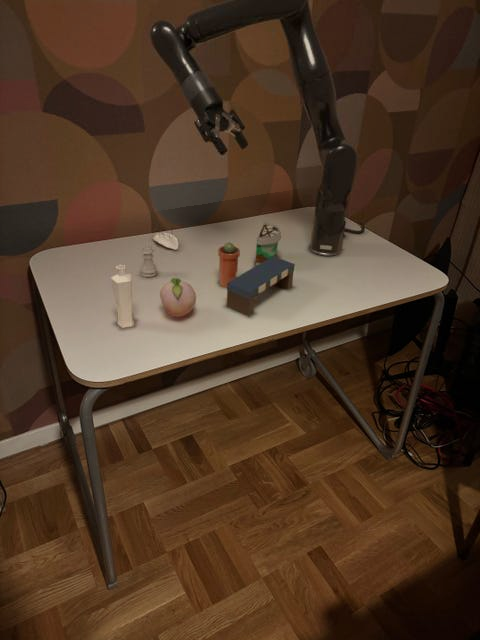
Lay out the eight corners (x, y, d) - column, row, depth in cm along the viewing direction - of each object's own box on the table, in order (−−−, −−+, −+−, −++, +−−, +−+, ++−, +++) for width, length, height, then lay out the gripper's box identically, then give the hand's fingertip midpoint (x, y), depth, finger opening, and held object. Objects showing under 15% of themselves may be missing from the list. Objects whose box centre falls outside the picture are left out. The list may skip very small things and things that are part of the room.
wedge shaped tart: (275, 272, 144) (278, 240, 138) (254, 269, 145) (256, 237, 139) (281, 254, 154) (284, 223, 148) (261, 251, 155) (263, 221, 149)
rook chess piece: (160, 272, 141) (158, 246, 136) (151, 279, 137) (149, 252, 133) (146, 269, 142) (145, 243, 138) (137, 275, 139) (135, 249, 134)
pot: (228, 276, 141) (230, 236, 134) (242, 284, 137) (244, 244, 131) (213, 282, 137) (213, 242, 131) (226, 290, 134) (228, 249, 127)
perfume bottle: (117, 318, 121) (111, 262, 113) (135, 317, 121) (131, 262, 113) (114, 328, 117) (108, 271, 109) (134, 328, 117) (129, 271, 109)
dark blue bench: (271, 278, 141) (273, 256, 137) (292, 287, 137) (295, 264, 133) (226, 306, 127) (226, 282, 123) (248, 317, 124) (250, 292, 120)
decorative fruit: (200, 322, 121) (200, 286, 115) (167, 328, 118) (165, 291, 113) (190, 303, 128) (189, 268, 122) (158, 307, 125) (156, 272, 120)
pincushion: (185, 249, 154) (184, 231, 151) (167, 253, 151) (167, 236, 148) (164, 235, 162) (163, 218, 159) (147, 239, 158) (146, 222, 155)
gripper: (190, 88, 121) (226, 146, 121) (227, 82, 130) (260, 136, 131) (175, 108, 126) (209, 164, 127) (211, 101, 136) (243, 153, 137)
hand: (235, 150), depth 129 cm, fingers open, 8 cm apart
